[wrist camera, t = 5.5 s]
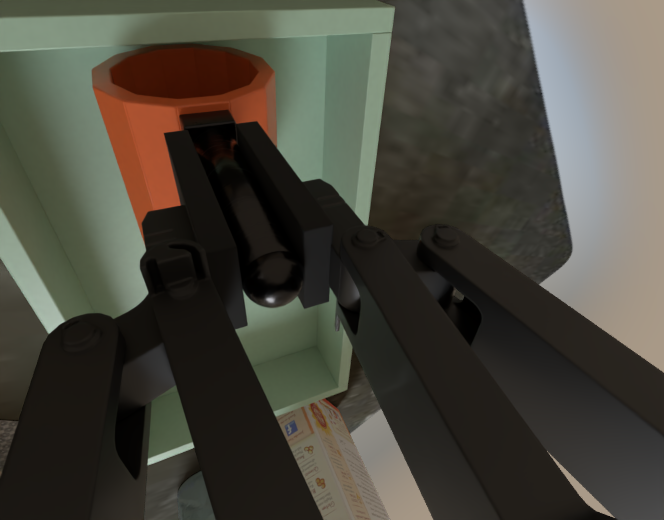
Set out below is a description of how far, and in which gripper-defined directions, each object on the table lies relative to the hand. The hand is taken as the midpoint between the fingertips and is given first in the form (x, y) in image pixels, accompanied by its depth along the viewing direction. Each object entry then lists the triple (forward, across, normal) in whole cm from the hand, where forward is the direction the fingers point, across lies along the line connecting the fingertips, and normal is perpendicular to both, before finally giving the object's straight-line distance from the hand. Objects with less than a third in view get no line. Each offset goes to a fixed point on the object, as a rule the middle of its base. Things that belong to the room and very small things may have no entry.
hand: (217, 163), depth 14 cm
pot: (+1, 0, -7) cm, 7 cm away
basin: (+10, 0, -11) cm, 15 cm away
